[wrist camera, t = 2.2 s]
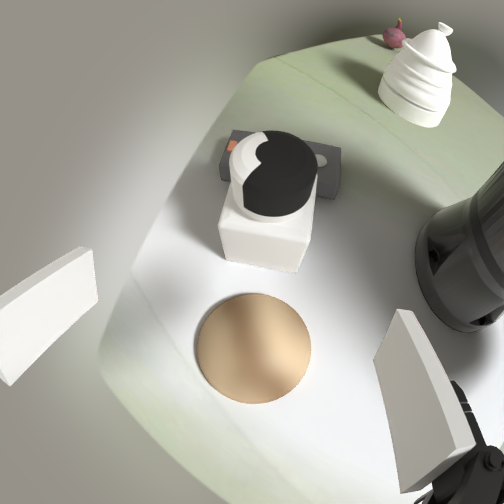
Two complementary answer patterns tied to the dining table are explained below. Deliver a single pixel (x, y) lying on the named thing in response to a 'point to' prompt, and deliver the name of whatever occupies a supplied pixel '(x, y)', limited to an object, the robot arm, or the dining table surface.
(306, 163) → the medicine bottle
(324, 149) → the power strip
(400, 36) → the vegetable
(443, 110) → the honey pot
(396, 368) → the robot arm
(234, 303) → the coaster
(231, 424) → the dining table surface
